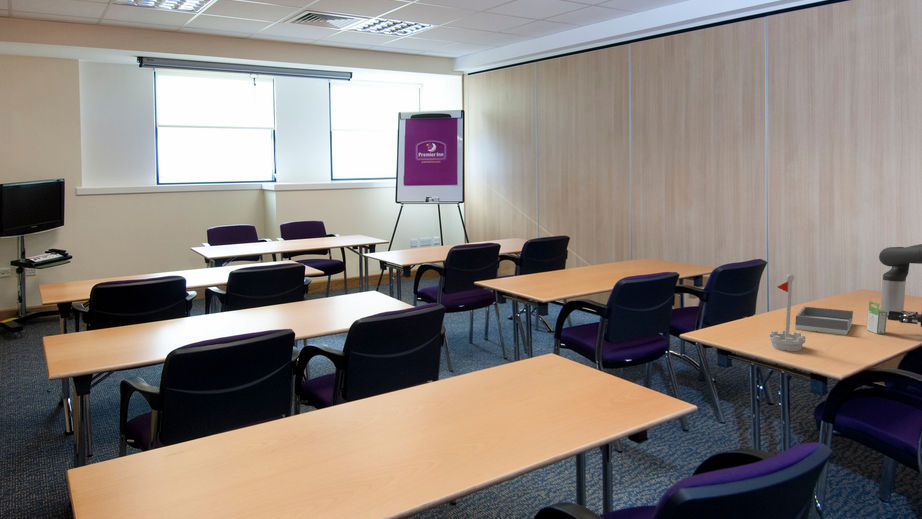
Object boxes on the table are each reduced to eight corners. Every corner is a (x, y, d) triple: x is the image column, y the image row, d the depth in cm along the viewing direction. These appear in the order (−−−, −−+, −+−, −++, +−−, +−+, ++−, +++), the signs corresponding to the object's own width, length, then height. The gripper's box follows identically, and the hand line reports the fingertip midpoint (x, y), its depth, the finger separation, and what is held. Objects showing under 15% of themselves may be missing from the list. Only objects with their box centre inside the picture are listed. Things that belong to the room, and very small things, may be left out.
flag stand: (793, 342, 265) (797, 271, 261) (811, 351, 252) (815, 276, 248) (762, 343, 264) (765, 271, 260) (779, 352, 252) (782, 277, 248)
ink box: (885, 334, 275) (888, 303, 273) (876, 334, 275) (878, 303, 274) (875, 330, 282) (877, 300, 280) (866, 330, 282) (868, 300, 280)
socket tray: (803, 318, 306) (804, 306, 305) (852, 323, 294) (852, 311, 293) (795, 329, 287) (795, 316, 286) (846, 334, 275) (847, 321, 274)
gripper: (935, 307, 271) (889, 303, 281) (935, 314, 260) (888, 309, 269) (934, 325, 272) (888, 320, 282) (934, 332, 261) (886, 327, 270)
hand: (888, 315), depth 275 cm, fingers open, 8 cm apart
